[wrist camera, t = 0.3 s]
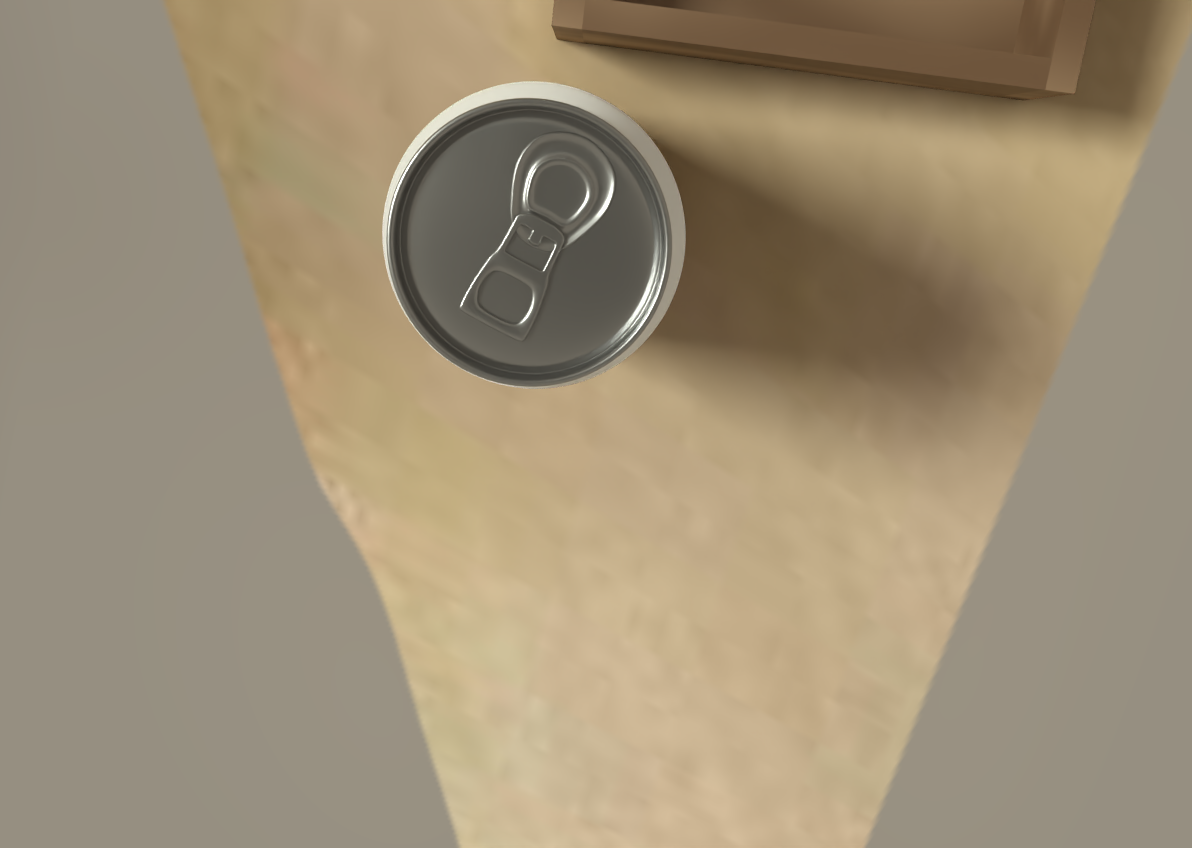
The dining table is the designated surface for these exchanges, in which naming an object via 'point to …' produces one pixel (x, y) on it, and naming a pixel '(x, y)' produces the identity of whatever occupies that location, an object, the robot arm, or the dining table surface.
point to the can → (534, 235)
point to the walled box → (858, 38)
